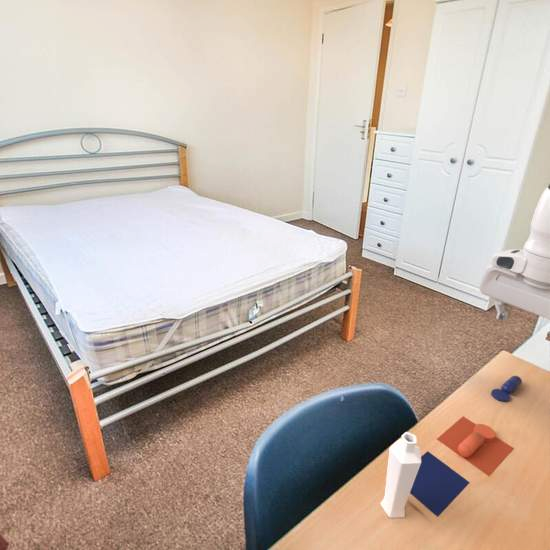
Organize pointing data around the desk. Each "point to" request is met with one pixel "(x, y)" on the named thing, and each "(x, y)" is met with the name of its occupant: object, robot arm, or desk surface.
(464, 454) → the orange stubby capsule part
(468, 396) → the desk surface
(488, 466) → the terracotta mat
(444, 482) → the navy mat
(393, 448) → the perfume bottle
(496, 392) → the navy bulbous segmented part
